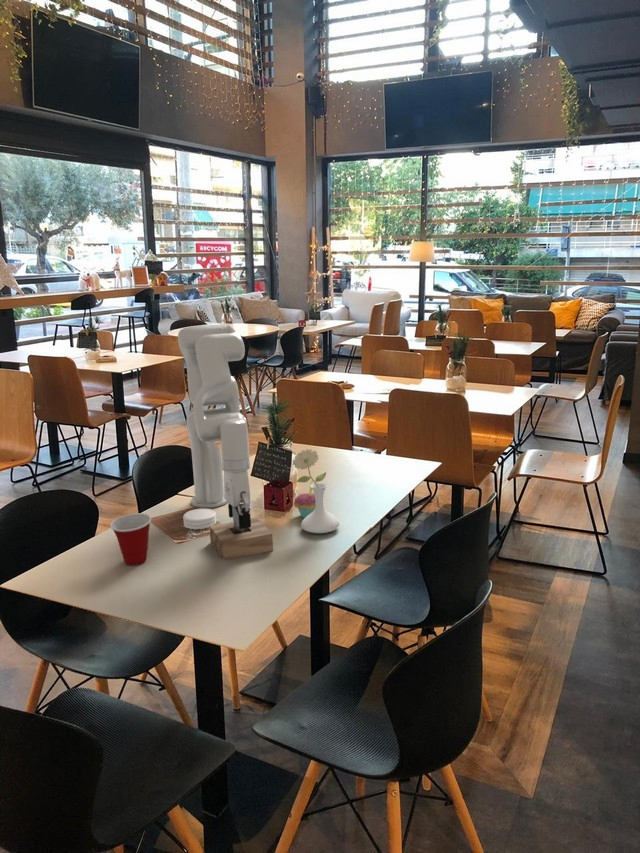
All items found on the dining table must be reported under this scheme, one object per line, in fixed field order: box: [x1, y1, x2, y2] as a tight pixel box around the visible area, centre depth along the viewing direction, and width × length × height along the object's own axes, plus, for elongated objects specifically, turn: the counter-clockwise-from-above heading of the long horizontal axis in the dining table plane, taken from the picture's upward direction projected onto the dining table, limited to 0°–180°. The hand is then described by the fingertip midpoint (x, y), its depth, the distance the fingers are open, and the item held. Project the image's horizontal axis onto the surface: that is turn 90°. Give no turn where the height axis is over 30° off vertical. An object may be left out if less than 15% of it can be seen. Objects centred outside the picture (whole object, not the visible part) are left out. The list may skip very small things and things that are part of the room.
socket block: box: [209, 517, 274, 561], centre depth 198 cm, size 14×14×5 cm
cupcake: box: [293, 481, 316, 519], centre depth 218 cm, size 9×8×12 cm
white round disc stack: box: [182, 508, 217, 531], centre depth 216 cm, size 10×10×4 cm
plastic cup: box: [110, 512, 152, 566], centre depth 189 cm, size 11×11×12 cm
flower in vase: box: [292, 448, 340, 534], centre depth 205 cm, size 13×11×25 cm
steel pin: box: [232, 506, 247, 535], centre depth 197 cm, size 4×4×12 cm
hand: (239, 522), depth 196 cm, fingers open, 9 cm apart
